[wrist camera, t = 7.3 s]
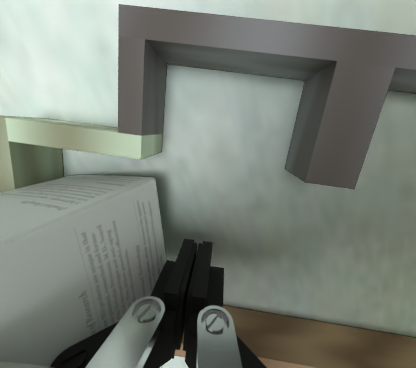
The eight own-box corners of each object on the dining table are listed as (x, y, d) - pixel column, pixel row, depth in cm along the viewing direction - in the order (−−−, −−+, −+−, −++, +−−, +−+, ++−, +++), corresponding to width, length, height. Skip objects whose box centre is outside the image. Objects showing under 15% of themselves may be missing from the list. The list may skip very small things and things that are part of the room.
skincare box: (96, 258, 14) (-76, 379, 7) (74, 172, 12) (-170, 229, 6) (172, 277, 12) (21, 473, 5) (158, 174, 10) (-87, 272, 4)
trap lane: (598, 90, 9) (768, 72, 6) (441, 354, 14) (499, 414, 11) (34, 26, 10) (-38, -13, 8) (58, 288, 15) (18, 327, 12)
